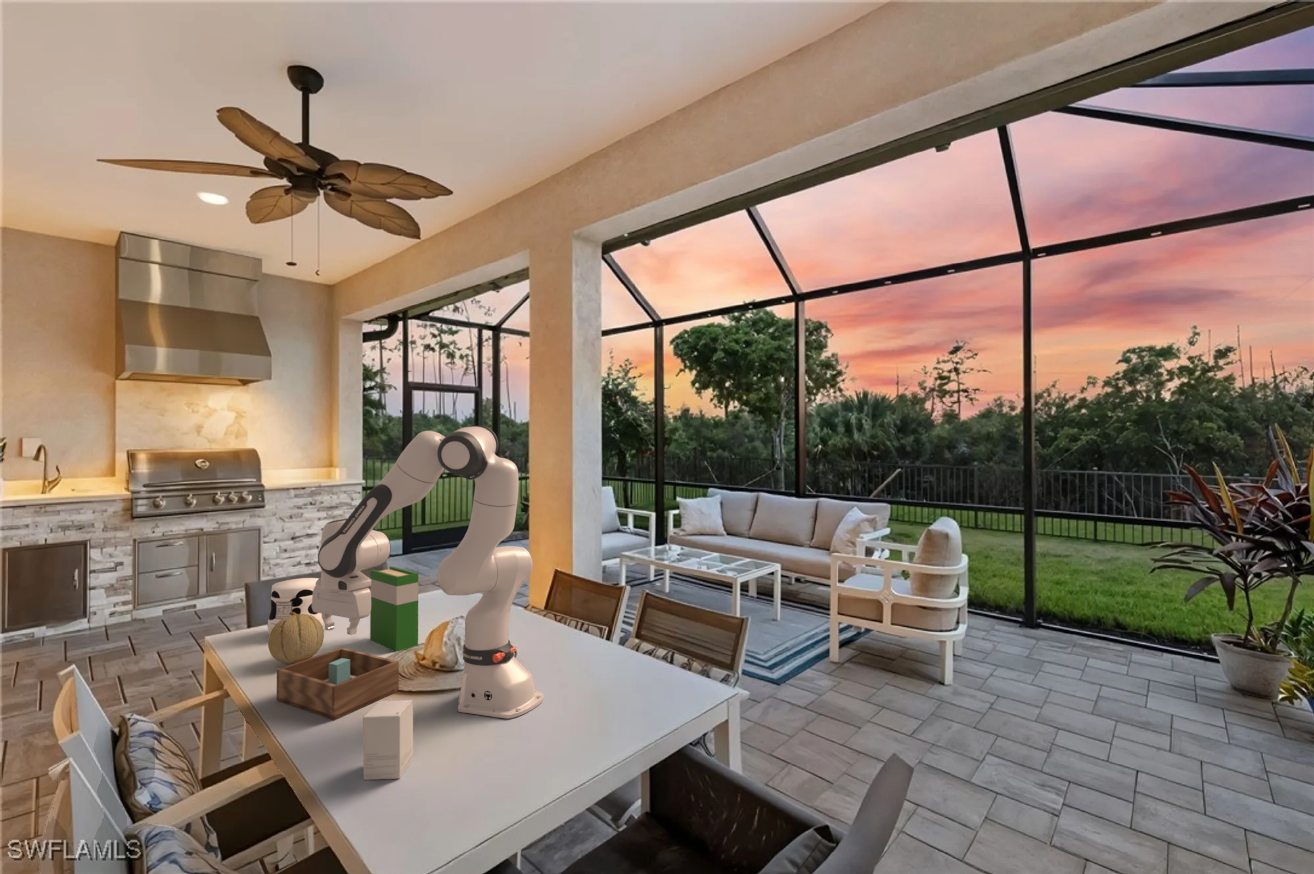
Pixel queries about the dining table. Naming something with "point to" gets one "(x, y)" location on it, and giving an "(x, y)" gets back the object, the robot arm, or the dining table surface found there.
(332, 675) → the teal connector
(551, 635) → the dining table surface
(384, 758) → the supplement box
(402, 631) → the hardback book
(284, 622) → the cantaloupe
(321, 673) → the walled box
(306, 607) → the milk container
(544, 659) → the dining table surface
